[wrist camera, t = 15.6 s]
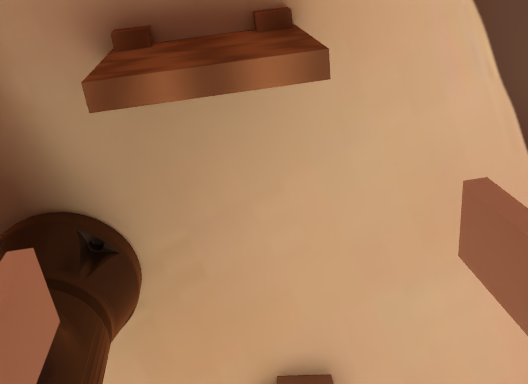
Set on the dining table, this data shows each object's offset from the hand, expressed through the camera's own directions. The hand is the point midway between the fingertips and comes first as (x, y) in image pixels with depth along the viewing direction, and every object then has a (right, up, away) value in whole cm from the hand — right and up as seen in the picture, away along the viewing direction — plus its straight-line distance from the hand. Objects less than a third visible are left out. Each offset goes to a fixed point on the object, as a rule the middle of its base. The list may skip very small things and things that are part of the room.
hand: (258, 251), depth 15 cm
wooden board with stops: (-5, +15, +29) cm, 33 cm away
